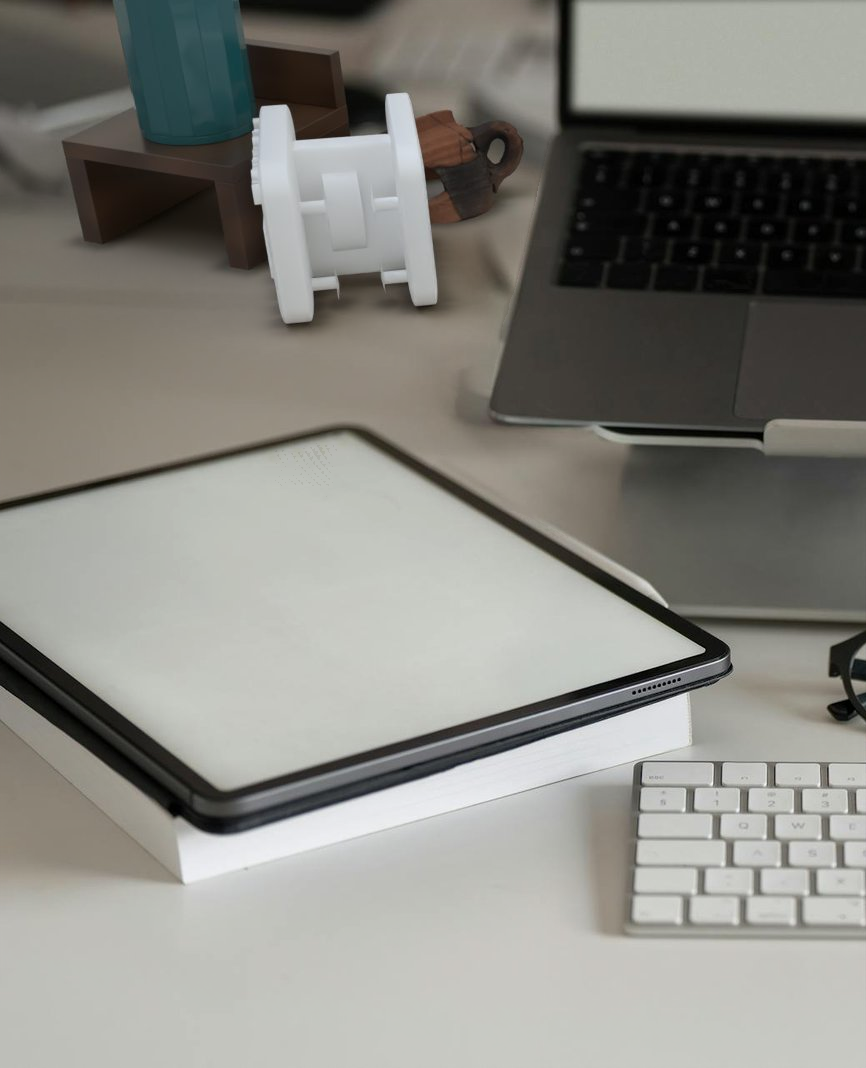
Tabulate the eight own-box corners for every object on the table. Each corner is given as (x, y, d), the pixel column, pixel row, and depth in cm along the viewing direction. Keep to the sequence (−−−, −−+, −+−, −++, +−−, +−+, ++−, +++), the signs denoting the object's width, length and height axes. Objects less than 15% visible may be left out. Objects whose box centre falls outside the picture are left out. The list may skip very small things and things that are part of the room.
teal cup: (115, 137, 119) (81, -24, 113) (187, 102, 125) (159, -51, 119) (211, 151, 116) (181, -11, 110) (280, 116, 123) (255, -40, 117)
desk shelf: (85, 247, 122) (47, 83, 116) (206, 182, 133) (178, 29, 127) (249, 277, 118) (220, 108, 112) (360, 207, 129) (339, 50, 123)
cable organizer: (443, 327, 112) (424, 157, 106) (277, 343, 110) (247, 171, 103) (427, 240, 124) (409, 83, 118) (277, 253, 122) (251, 94, 115)
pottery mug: (399, 247, 124) (350, 140, 123) (396, 255, 133) (350, 155, 132) (550, 185, 127) (504, 79, 125) (536, 197, 136) (493, 99, 134)
